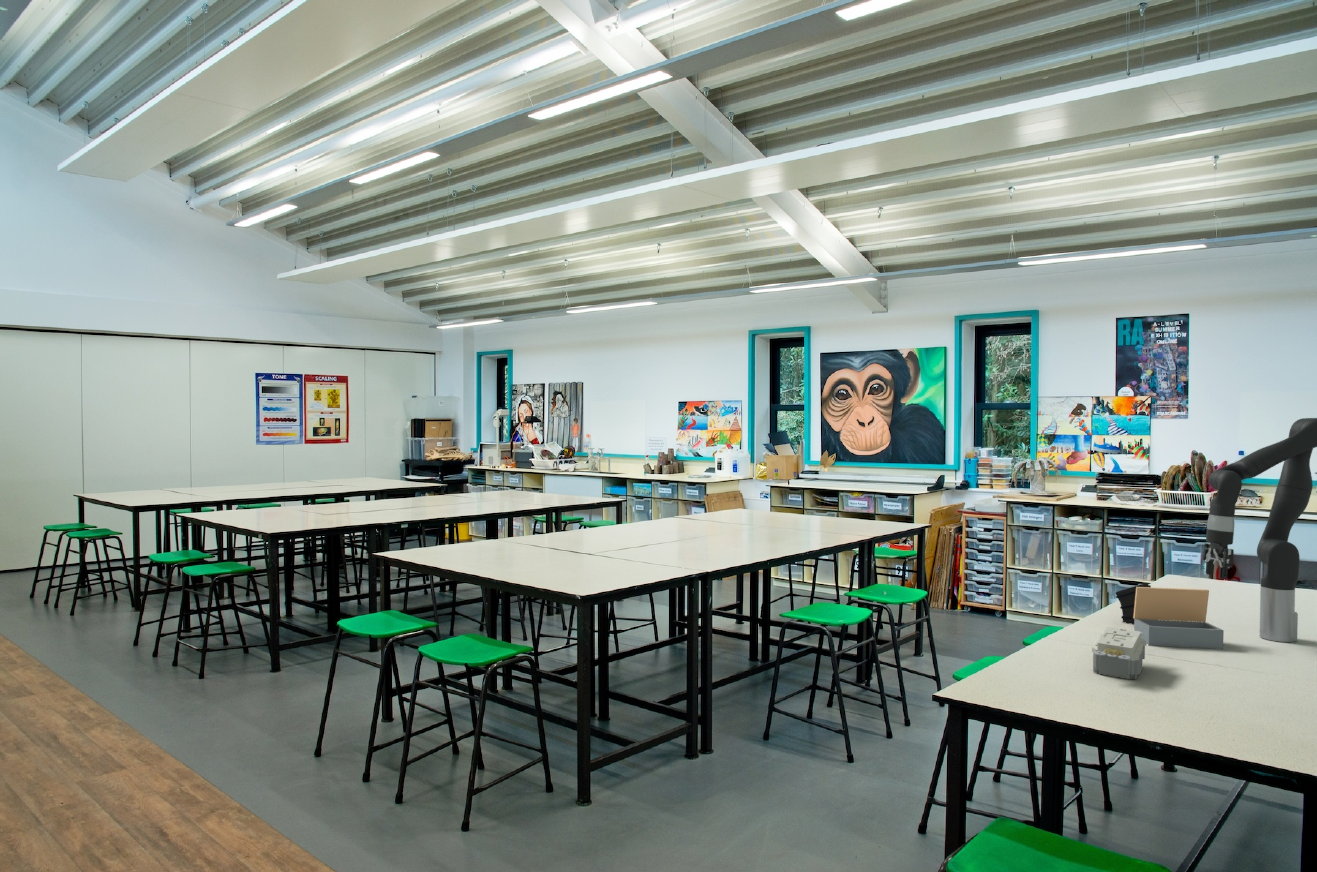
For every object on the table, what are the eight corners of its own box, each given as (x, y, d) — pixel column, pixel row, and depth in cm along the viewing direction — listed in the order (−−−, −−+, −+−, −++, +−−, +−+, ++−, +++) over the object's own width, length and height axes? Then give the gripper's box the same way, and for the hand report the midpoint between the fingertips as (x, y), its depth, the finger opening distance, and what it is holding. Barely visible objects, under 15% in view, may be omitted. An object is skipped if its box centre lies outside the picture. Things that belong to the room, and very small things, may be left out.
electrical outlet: (1149, 660, 242) (1149, 627, 241) (1135, 690, 219) (1135, 654, 218) (1104, 653, 249) (1105, 621, 248) (1087, 681, 226) (1087, 646, 226)
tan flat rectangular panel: (1205, 621, 269) (1204, 620, 270) (1209, 590, 267) (1207, 589, 268) (1134, 618, 272) (1133, 617, 273) (1137, 587, 270) (1136, 586, 271)
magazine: (1167, 624, 284) (1147, 583, 288) (1128, 634, 291) (1108, 594, 295) (1169, 622, 287) (1148, 581, 291) (1130, 632, 294) (1110, 593, 298)
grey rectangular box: (1205, 640, 269) (1205, 622, 269) (1223, 648, 258) (1223, 630, 258) (1134, 636, 272) (1134, 618, 272) (1148, 645, 261) (1149, 626, 261)
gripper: (1244, 532, 266) (1239, 581, 266) (1221, 527, 280) (1216, 574, 280) (1219, 530, 267) (1215, 579, 267) (1197, 525, 281) (1193, 571, 281)
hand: (1215, 576), depth 274 cm, fingers open, 8 cm apart
